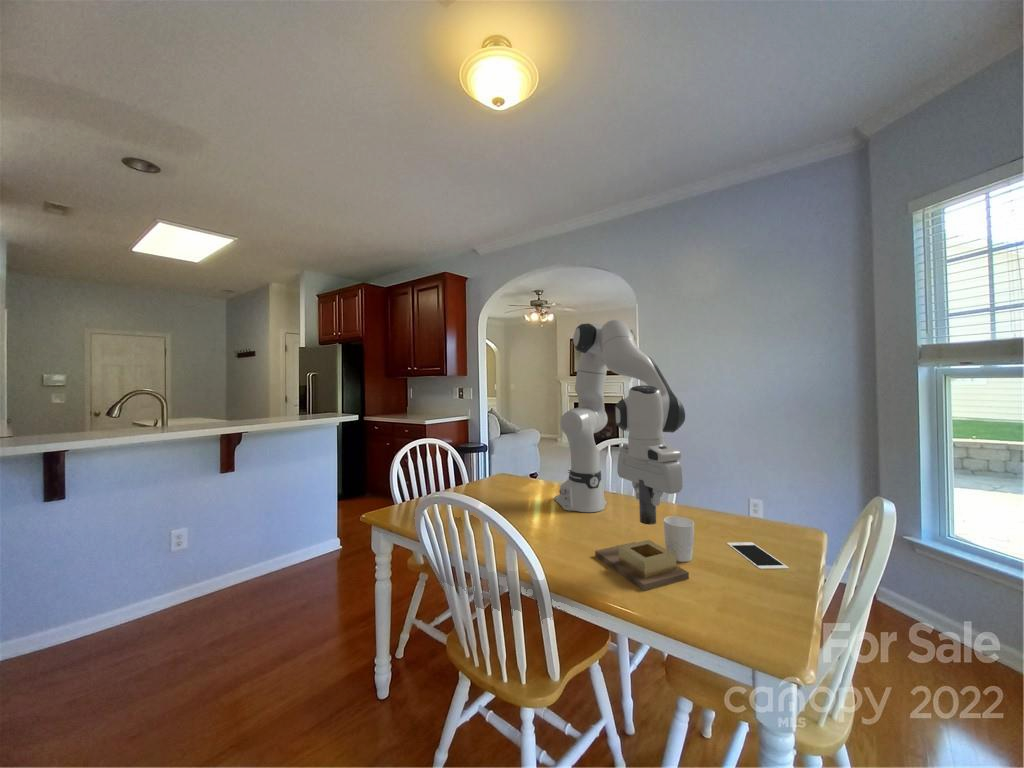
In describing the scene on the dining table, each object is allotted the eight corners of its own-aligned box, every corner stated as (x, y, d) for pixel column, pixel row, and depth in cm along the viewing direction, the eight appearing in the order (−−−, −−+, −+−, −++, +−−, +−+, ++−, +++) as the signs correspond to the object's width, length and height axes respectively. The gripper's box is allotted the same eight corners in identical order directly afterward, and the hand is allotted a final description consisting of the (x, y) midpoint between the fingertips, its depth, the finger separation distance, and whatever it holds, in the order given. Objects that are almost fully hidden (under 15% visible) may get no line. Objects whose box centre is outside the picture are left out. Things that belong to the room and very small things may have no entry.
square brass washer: (618, 561, 105) (618, 546, 105) (648, 554, 108) (648, 539, 108) (644, 578, 95) (644, 562, 95) (676, 570, 99) (676, 554, 99)
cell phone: (752, 544, 118) (752, 542, 118) (789, 570, 102) (789, 567, 102) (726, 544, 118) (726, 542, 118) (759, 570, 102) (759, 568, 102)
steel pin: (636, 520, 103) (635, 478, 103) (648, 518, 104) (647, 476, 104) (647, 525, 99) (646, 481, 99) (659, 522, 101) (658, 479, 100)
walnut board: (595, 555, 111) (595, 550, 111) (635, 547, 117) (634, 542, 117) (644, 590, 93) (643, 584, 93) (688, 578, 98) (688, 572, 98)
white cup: (676, 565, 105) (676, 528, 105) (658, 552, 113) (657, 518, 113) (701, 561, 107) (700, 524, 107) (681, 549, 115) (681, 515, 115)
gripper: (611, 444, 110) (612, 493, 110) (666, 456, 91) (667, 516, 91) (629, 442, 112) (630, 490, 112) (686, 453, 93) (687, 511, 94)
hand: (647, 502), depth 102 cm, fingers closed on steel pin, 4 cm apart
